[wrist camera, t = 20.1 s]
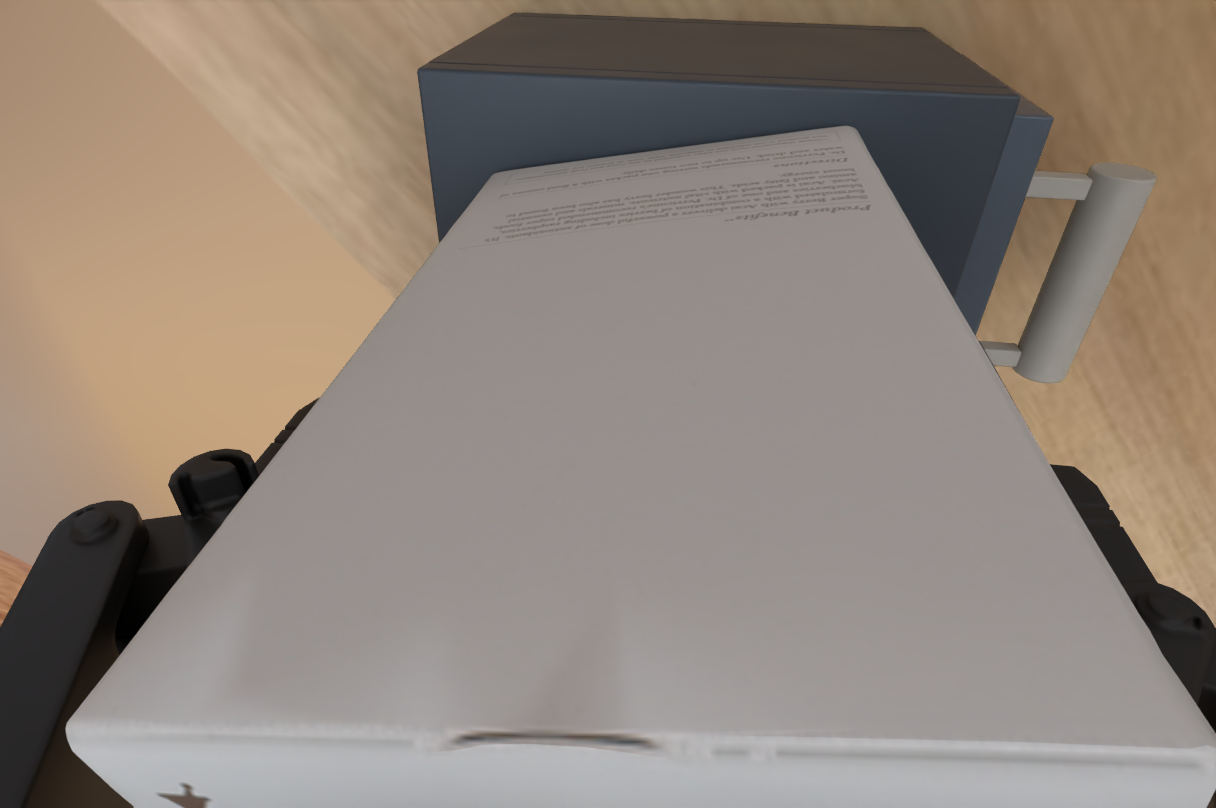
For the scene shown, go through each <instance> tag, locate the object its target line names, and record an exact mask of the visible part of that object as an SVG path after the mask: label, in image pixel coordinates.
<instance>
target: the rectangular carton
mask: <svg viewBox="0 0 1216 808" xmlns="http://www.w3.org/2000/svg"><path fill="white" fill-rule="evenodd" d="M65 730H66V735H67V740H68V742H69V745H70V747H71V749H72V751H73V752H74V753H75V754H76V755H77V756H78V757H79V758H80V759H81V760H82V761H84V762H85V763H86V764H87V765H88V766H89V767H90V768H91V769H92V770H93V771H94V772H95V773H96V774H98V775H99V776H100V777H101V778H102V779H103V780H104V781H105V782H106V783H107V784H108V785H109V786H110V787H112V788H113V789H114V790H115V791H116V792H117V793H118V794H120V795H121V796H122V797H123V798H124V799H126V800H127V801H128V802H129V803H130V804H131V805H133V806H134V807H135V808H1207V806H1208V804H1209V802H1210V800H1211V798H1212V796H1213V794H1214V792H1215V790H1216V734H1215V732H1214V730H1213V729H1212V727H1211V726H1210V724H1209V723H1208V721H1207V720H1206V718H1205V717H1204V715H1203V714H1202V712H1201V711H1200V709H1199V708H1198V706H1197V705H1196V703H1195V702H1194V700H1193V699H1192V697H1191V695H1190V694H1189V692H1188V691H1187V689H1186V688H1185V686H1184V685H1183V684H1182V682H1181V681H1180V679H1179V678H1178V676H1177V675H1176V673H1175V672H1174V671H1173V669H1172V668H1171V666H1170V665H1169V663H1168V662H1167V661H1166V659H1165V658H1164V656H1163V654H1162V653H1161V651H1160V649H1159V647H1158V645H1157V643H1156V641H1155V639H1154V638H1153V636H1152V634H1151V632H1150V630H1149V629H1148V627H1147V626H1146V624H1145V623H1144V621H1143V620H1142V618H1141V617H1140V615H1139V613H1138V612H1137V610H1136V608H1135V607H1134V605H1133V603H1132V602H1131V600H1130V598H1129V596H1128V595H1127V593H1126V591H1125V590H1124V588H1123V586H1122V585H1121V583H1120V581H1119V580H1118V578H1117V576H1116V575H1115V573H1114V572H1113V570H1112V568H1111V567H1110V565H1109V563H1108V562H1107V560H1106V558H1105V557H1104V555H1103V553H1102V552H1101V550H1100V548H1099V547H1098V545H1097V543H1096V542H1095V540H1094V538H1093V537H1092V535H1091V533H1090V532H1089V530H1088V528H1087V527H1086V525H1085V523H1084V522H1083V520H1082V518H1081V517H1080V515H1079V513H1078V512H1077V510H1076V508H1075V506H1074V505H1073V503H1072V501H1071V500H1070V498H1069V496H1068V495H1067V493H1066V491H1065V490H1064V488H1063V486H1062V485H1061V483H1060V481H1059V480H1058V478H1057V476H1056V474H1055V473H1054V471H1053V469H1052V468H1051V466H1050V464H1049V462H1048V461H1047V459H1046V457H1045V455H1044V454H1043V452H1042V450H1041V448H1040V447H1039V445H1038V443H1037V442H1036V440H1035V438H1034V436H1033V435H1032V433H1031V431H1030V429H1029V428H1028V426H1027V424H1026V422H1025V421H1024V419H1023V417H1022V416H1021V414H1020V412H1019V410H1018V409H1017V407H1016V405H1015V404H1014V402H1013V400H1012V398H1011V397H1010V395H1009V393H1008V391H1007V390H1006V388H1005V386H1004V384H1003V383H1002V381H1001V379H1000V377H999V376H998V374H997V372H996V371H995V369H994V367H993V365H992V364H991V362H990V360H989V359H988V357H987V355H986V353H985V352H984V350H983V348H982V347H981V345H980V343H979V342H978V340H977V338H976V336H975V335H974V333H973V331H972V330H971V328H970V326H969V325H968V323H967V321H966V320H965V318H964V316H963V314H962V313H961V311H960V309H959V308H958V306H957V304H956V303H955V301H954V299H953V297H952V296H951V294H950V292H949V290H948V288H947V287H946V285H945V283H944V282H943V280H942V278H941V276H940V275H939V273H938V271H937V269H936V268H935V266H934V264H933V263H932V261H931V259H930V258H929V256H928V254H927V253H926V251H925V249H924V248H923V246H922V244H921V242H920V240H919V239H918V237H917V235H916V233H915V232H914V230H913V228H912V226H911V224H910V223H909V221H908V219H907V217H906V216H905V214H904V212H903V211H902V209H901V207H900V205H899V204H898V202H897V200H896V198H895V197H894V195H893V193H892V191H891V190H890V188H889V187H888V185H887V183H886V181H885V180H884V178H883V176H882V174H881V172H880V170H879V169H878V167H877V166H876V164H875V162H874V161H873V159H872V157H871V155H870V153H869V152H868V150H867V148H866V146H865V144H864V142H863V140H862V138H861V136H860V135H859V133H858V131H857V130H856V129H855V128H854V127H850V126H838V127H830V128H822V129H813V130H806V131H798V132H791V133H784V134H776V135H768V136H761V137H753V138H746V139H738V140H731V141H723V142H716V143H708V144H701V145H693V146H686V147H678V148H671V149H663V150H656V151H648V152H641V153H633V154H626V155H618V156H611V157H603V158H596V159H588V160H581V161H574V162H566V163H559V164H551V165H544V166H537V167H529V168H523V169H516V170H509V171H503V172H498V173H495V174H493V175H492V176H491V177H490V179H489V180H488V181H487V182H486V184H485V185H484V186H483V188H482V189H481V190H480V192H479V193H478V194H477V196H476V197H475V198H474V200H473V201H472V202H471V203H470V205H469V206H468V207H467V209H466V210H465V211H464V212H463V214H462V215H461V216H460V217H459V219H458V220H457V221H456V222H455V223H454V225H453V226H452V227H451V229H450V230H449V231H448V233H447V234H446V235H445V237H444V238H443V239H442V241H441V242H440V243H439V244H438V246H437V247H436V248H435V249H434V251H433V252H432V253H431V255H430V256H429V257H428V259H427V260H426V261H425V263H424V264H423V265H422V267H421V268H420V269H419V270H418V271H417V273H416V274H415V275H414V276H413V278H412V279H411V280H410V282H409V283H408V284H407V286H406V287H405V288H404V290H403V291H402V292H401V294H400V295H399V296H398V297H397V298H396V300H395V301H394V302H393V304H392V305H391V307H390V308H389V309H388V310H387V312H386V313H385V314H384V315H383V317H382V318H381V319H380V321H379V322H378V323H377V324H376V326H375V327H374V328H373V330H372V331H371V333H370V334H369V335H368V336H367V338H366V339H365V340H364V342H363V343H362V344H361V346H360V347H359V348H358V349H357V351H356V352H355V353H354V355H353V356H352V357H351V359H350V360H349V361H348V362H347V364H346V365H345V366H344V367H343V369H342V370H341V371H340V373H339V374H338V375H337V376H336V378H335V379H334V380H333V382H332V383H331V384H330V385H329V387H328V388H327V389H326V391H325V392H324V393H323V394H322V396H321V397H320V398H319V400H318V401H317V402H316V403H315V405H314V406H313V407H312V409H311V410H310V411H309V413H308V414H307V415H306V416H305V418H304V419H303V420H302V422H301V423H300V424H299V425H298V427H297V428H296V429H295V431H294V432H293V433H292V434H291V436H290V437H289V438H288V440H287V441H286V442H285V443H284V445H283V446H282V447H281V449H280V450H279V451H278V453H277V454H276V455H275V456H274V458H273V459H272V460H271V462H270V463H269V464H268V465H267V467H266V468H265V469H264V471H263V472H262V473H261V474H260V476H259V477H258V478H257V480H256V481H255V482H254V483H253V485H252V486H251V487H250V488H249V490H248V491H247V492H246V494H245V495H244V496H243V497H242V499H241V500H240V501H239V502H238V504H237V505H236V506H235V507H234V509H233V510H232V511H231V513H230V514H229V515H228V516H227V518H226V519H225V521H224V522H223V523H222V525H221V526H220V528H219V529H218V530H217V531H216V533H215V534H214V535H213V536H212V538H211V539H210V540H209V541H208V543H207V544H206V545H205V546H204V548H203V549H202V550H201V552H200V553H199V554H198V555H197V557H196V558H195V559H194V560H193V562H192V563H191V564H190V565H189V567H188V568H187V569H186V571H185V572H184V573H183V574H182V576H181V577H180V578H179V579H178V581H177V582H176V583H175V584H174V586H173V587H172V588H171V590H170V591H169V592H168V593H167V595H166V596H165V597H164V598H163V600H162V601H161V602H160V604H159V605H158V606H157V608H156V609H155V610H154V612H153V613H152V614H151V615H150V617H149V618H148V619H147V621H146V622H145V623H144V625H143V626H142V627H141V628H140V630H139V631H138V632H137V634H136V635H135V636H134V638H133V639H132V640H131V641H130V643H129V644H128V645H127V647H126V648H125V649H124V651H123V652H122V653H121V655H120V656H119V657H118V658H117V660H116V661H115V662H114V664H113V665H112V666H111V667H110V669H109V670H108V671H107V672H106V674H105V675H104V676H103V678H102V679H101V680H100V681H99V683H98V684H97V685H96V686H95V688H94V689H93V690H92V691H91V693H90V694H89V695H88V697H87V698H86V699H85V700H84V702H83V703H82V704H81V705H80V707H79V708H78V709H77V710H76V712H75V713H74V714H73V716H72V717H71V718H70V719H69V721H68V722H67V724H66V729H65Z"/></svg>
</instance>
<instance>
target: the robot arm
mask: <svg viewBox="0 0 1216 808" xmlns="http://www.w3.org/2000/svg"><path fill="white" fill-rule="evenodd" d="M978 342H979V343H980V341H978ZM980 345H981V347H982V348H983V346H982V344H981V343H980ZM983 350H984V348H983ZM984 352H985V353H986V351H985V350H984ZM986 355H987V353H986ZM987 357H988V355H987ZM988 359H989V357H988ZM989 360H990V359H989ZM990 362H991V360H990ZM991 364H992V362H991ZM992 365H993V364H992ZM993 367H994V366H993ZM994 369H995V367H994ZM995 371H996V369H995ZM996 372H997V371H996ZM997 374H998V373H997ZM998 376H999V375H998ZM999 377H1000V376H999ZM1000 379H1001V378H1000ZM1001 381H1002V380H1001ZM1002 383H1003V382H1002ZM1003 384H1004V383H1003ZM1004 386H1005V385H1004ZM1005 388H1006V387H1005ZM1006 390H1007V389H1006ZM1008 393H1009V392H1008ZM1009 395H1010V394H1009ZM1010 397H1011V396H1010ZM318 400H319V398H318V399H316V400H315V401H313V402H311V403H310V404H308V405H306V406H305V407H303V408H302V409H300V410H299V411H298V412H297V413H296V414H295V415H294V416H293V418H292V419H291V420H290V421H289V423H288V424H287V425H286V426H285V430H282V431H281V432H280V433H279V435H278V436H277V437H276V438H275V442H274V443H271V444H270V446H269V447H268V448H267V449H266V451H265V452H264V453H263V454H262V455H261V457H260V458H259V459H258V460H257V461H256V463H254V461H253V459H252V458H251V456H250V455H249V454H247V453H245V452H243V451H241V450H233V449H221V450H214V451H209V452H206V453H204V454H201V455H198V456H195V457H193V458H191V459H190V460H188V461H187V462H185V463H184V464H182V465H180V466H179V467H178V468H177V470H176V471H175V472H174V473H173V474H172V475H171V478H170V481H169V484H168V486H169V488H170V490H171V492H172V495H173V497H174V499H175V501H176V503H177V506H178V508H179V510H180V512H181V514H182V515H177V516H170V517H163V518H154V519H146V520H142V518H141V517H140V514H139V513H138V511H137V509H136V508H135V507H134V506H133V505H132V504H130V503H127V502H124V501H104V502H100V503H96V504H91V505H88V506H86V507H84V508H82V509H80V510H77V511H75V512H73V513H72V514H70V515H69V516H67V517H66V518H65V519H63V520H62V521H60V522H59V523H58V525H57V526H56V527H55V528H54V530H53V531H52V532H51V533H50V535H49V537H48V539H47V541H46V543H45V545H44V546H43V548H42V550H41V552H40V554H39V556H38V558H37V559H36V561H35V563H34V565H33V567H32V569H31V571H30V573H29V574H28V576H27V578H26V580H25V582H24V584H23V586H22V588H21V589H20V591H19V593H18V595H17V597H16V599H15V601H14V603H13V605H12V606H11V608H10V610H9V612H8V614H7V616H6V618H5V620H4V621H3V623H2V625H1V627H0V808H134V806H133V805H131V804H130V803H129V802H128V801H127V800H126V799H124V798H123V797H122V796H121V795H120V794H118V793H117V792H116V791H115V790H114V789H113V788H112V787H110V786H109V785H108V784H107V783H106V782H105V781H104V780H103V779H102V778H101V777H100V776H99V775H98V774H96V773H95V772H94V771H93V770H92V769H91V768H90V767H89V766H88V765H87V764H86V763H85V762H84V761H82V760H81V759H80V758H79V757H78V756H77V755H76V754H75V753H74V752H73V751H72V749H71V747H70V745H69V742H68V740H67V735H66V730H65V729H66V724H67V722H68V721H69V719H70V718H71V717H72V716H73V714H74V713H75V712H76V710H77V709H78V708H79V707H80V705H81V704H82V703H83V702H84V700H85V699H86V698H87V697H88V695H89V694H90V693H91V691H92V690H93V689H94V688H95V686H96V685H97V684H98V683H99V681H100V680H101V679H102V678H103V676H104V675H105V674H106V672H107V671H108V670H109V669H110V667H111V666H112V665H113V664H114V662H115V661H116V660H117V658H118V657H119V656H120V655H121V653H122V652H123V651H124V649H125V648H126V647H127V645H128V644H129V643H130V641H131V640H132V639H133V638H134V636H135V635H136V634H137V632H138V631H139V630H140V628H141V627H142V626H143V625H144V623H145V622H146V621H147V619H148V618H149V617H150V615H151V614H152V613H153V612H154V610H155V609H156V608H157V606H158V605H159V604H160V602H161V601H162V600H163V598H164V597H165V596H166V595H167V593H168V592H169V591H170V590H171V588H172V587H173V586H174V584H175V583H176V582H177V581H178V579H179V578H180V577H181V576H182V574H183V573H184V572H185V571H186V569H187V568H188V567H189V565H190V564H191V563H192V562H193V560H194V559H195V558H196V557H197V555H198V554H199V553H200V552H201V550H202V549H203V548H204V546H205V545H206V544H207V543H208V541H209V540H210V539H211V538H212V536H213V535H214V534H215V533H216V531H217V530H218V529H219V528H220V526H221V525H222V523H223V522H224V521H225V519H226V518H227V516H228V515H229V514H230V513H231V511H232V510H233V509H234V507H235V506H236V505H237V504H238V502H239V501H240V500H241V499H242V497H243V496H244V495H245V494H246V492H247V491H248V490H249V488H250V487H251V486H252V485H253V483H254V482H255V481H256V480H257V478H258V477H259V476H260V474H261V473H262V472H263V471H264V469H265V468H266V467H267V465H268V464H269V463H270V462H271V460H272V459H273V458H274V456H275V455H276V454H277V453H278V451H279V450H280V449H281V447H282V446H283V445H284V443H285V442H286V441H287V440H288V438H289V437H290V436H291V434H292V433H293V432H294V431H295V429H296V428H297V427H298V425H299V424H300V423H301V422H302V420H303V419H304V418H305V416H306V415H307V414H308V413H309V411H310V410H311V409H312V407H313V406H314V405H315V403H316V402H317V401H318ZM1012 400H1013V399H1012ZM1013 402H1014V401H1013ZM1014 404H1015V403H1014ZM1017 409H1018V408H1017ZM1021 416H1022V415H1021ZM1050 466H1051V468H1052V469H1053V471H1054V473H1055V474H1056V476H1057V478H1058V480H1059V481H1060V483H1061V485H1062V486H1063V488H1064V490H1065V491H1066V493H1067V495H1068V496H1069V498H1070V500H1071V501H1072V503H1073V505H1074V506H1075V508H1076V510H1077V512H1078V513H1079V515H1080V517H1081V518H1082V520H1083V522H1084V523H1085V525H1086V527H1087V528H1088V530H1089V532H1090V533H1091V535H1092V537H1093V538H1094V540H1095V542H1096V543H1097V545H1098V547H1099V548H1100V550H1101V552H1102V553H1103V555H1104V557H1105V558H1106V560H1107V562H1108V563H1109V565H1110V567H1111V568H1112V570H1113V572H1114V573H1115V575H1116V576H1117V578H1118V580H1119V581H1120V583H1121V585H1122V586H1123V588H1124V590H1125V591H1126V593H1127V595H1128V596H1129V598H1130V600H1131V602H1132V603H1133V605H1134V607H1135V608H1136V610H1137V612H1138V613H1139V615H1140V617H1141V618H1142V620H1143V621H1144V623H1145V624H1146V626H1147V627H1148V629H1149V630H1150V632H1151V634H1152V636H1153V638H1154V639H1155V641H1156V643H1157V645H1158V647H1159V649H1160V651H1161V653H1162V654H1163V656H1164V658H1165V659H1166V661H1167V662H1168V663H1169V665H1170V666H1171V668H1172V669H1173V671H1174V672H1175V673H1176V675H1177V676H1178V678H1179V679H1180V681H1181V682H1182V684H1183V685H1184V686H1185V688H1186V689H1187V691H1188V692H1189V694H1190V695H1191V697H1192V699H1193V700H1194V702H1195V703H1196V705H1197V706H1198V708H1199V709H1200V711H1201V712H1202V714H1203V715H1204V717H1205V718H1206V720H1207V721H1208V723H1209V724H1210V726H1211V727H1212V729H1213V730H1214V732H1215V734H1216V628H1215V627H1214V625H1213V623H1212V622H1211V620H1210V619H1209V617H1208V615H1207V614H1206V612H1205V611H1204V610H1202V609H1201V608H1200V607H1199V606H1198V605H1197V604H1196V603H1195V602H1194V601H1192V600H1191V599H1190V598H1188V597H1186V596H1185V595H1183V594H1181V593H1180V592H1178V591H1176V590H1174V589H1173V588H1170V587H1167V586H1164V585H1162V584H1159V583H1157V581H1156V580H1155V578H1154V576H1153V575H1152V573H1151V572H1150V570H1149V568H1148V567H1147V565H1146V564H1145V562H1144V560H1143V559H1142V557H1141V556H1140V554H1139V552H1138V551H1137V549H1136V548H1135V546H1134V544H1133V543H1132V541H1131V540H1130V538H1129V536H1128V535H1127V533H1126V532H1125V530H1124V528H1123V527H1120V522H1119V520H1118V519H1117V517H1116V515H1115V514H1114V512H1113V511H1112V510H1109V507H1110V506H1109V504H1108V503H1107V501H1106V499H1105V498H1104V496H1103V495H1102V493H1101V491H1100V490H1099V488H1098V487H1097V485H1096V484H1094V483H1093V482H1092V481H1091V480H1090V479H1088V478H1087V477H1086V476H1085V475H1084V474H1082V473H1081V472H1080V471H1079V470H1078V469H1077V468H1075V467H1072V466H1062V465H1051V464H1050ZM1207 808H1216V790H1215V792H1214V794H1213V796H1212V798H1211V800H1210V802H1209V804H1208V806H1207Z"/></svg>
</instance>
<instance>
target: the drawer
mask: <svg viewBox="0 0 1216 808" xmlns="http://www.w3.org/2000/svg"><path fill="white" fill-rule="evenodd" d="M963 56H964V55H963ZM964 57H965V58H967V57H966V56H964ZM967 59H968V58H967ZM968 60H970V59H968ZM970 61H971V60H970ZM971 62H973V61H971ZM973 63H974V62H973ZM974 64H975V65H977V64H976V63H974ZM977 66H978V67H980V66H979V65H977ZM980 68H981V67H980ZM981 69H983V68H981ZM983 70H984V69H983ZM984 71H985V72H987V71H986V70H984ZM987 73H988V74H990V73H989V72H987ZM990 75H991V76H993V75H992V74H990ZM993 77H994V76H993ZM994 78H996V77H994ZM996 79H997V78H996ZM997 80H998V81H1000V80H999V79H997ZM1000 82H1001V83H1003V82H1002V81H1000ZM1003 84H1004V85H1006V84H1005V83H1003ZM1006 86H1007V85H1006ZM1007 87H1008V88H1009V89H1010V90H1012V91H1013V92H1015V93H1016V94H1017V95H1019V96H1020V102H1019V105H1018V108H1017V111H1016V114H1015V117H1014V120H1013V123H1012V126H1011V129H1010V132H1009V135H1008V138H1007V141H1006V144H1005V147H1004V150H1003V153H1002V156H1001V159H1000V162H999V165H998V168H997V171H996V174H995V177H994V180H993V183H992V186H991V189H990V193H989V196H988V199H987V202H986V205H985V208H984V211H983V214H982V217H981V220H980V223H979V226H978V229H977V232H976V235H975V238H974V241H973V244H972V247H971V250H970V253H969V256H968V259H967V262H966V265H965V268H964V271H963V274H962V277H961V280H960V283H959V286H958V289H957V292H956V295H955V298H954V301H955V303H956V304H957V306H958V308H959V309H960V311H961V313H962V314H963V316H964V318H965V320H966V321H967V323H968V325H969V326H970V328H971V330H972V331H973V333H974V335H976V333H977V330H978V327H979V324H980V322H981V319H982V316H983V313H984V311H985V308H986V305H987V302H988V299H989V297H990V294H991V291H992V288H993V286H994V283H995V280H996V277H997V275H998V272H999V269H1000V266H1001V263H1002V261H1003V258H1004V255H1005V252H1006V250H1007V247H1008V244H1009V241H1010V239H1011V236H1012V233H1013V230H1014V228H1015V225H1016V222H1017V219H1018V216H1019V214H1020V211H1021V208H1022V205H1023V203H1024V200H1025V197H1031V198H1048V199H1065V200H1076V203H1075V205H1074V208H1073V210H1072V213H1071V215H1070V218H1069V220H1068V223H1067V225H1066V228H1065V230H1064V232H1063V235H1062V237H1061V240H1060V242H1059V245H1058V247H1057V250H1056V252H1055V255H1054V257H1053V260H1052V262H1051V265H1050V267H1049V270H1048V272H1047V274H1046V277H1045V279H1044V282H1043V284H1042V287H1041V289H1040V292H1039V294H1038V297H1037V299H1036V302H1035V304H1034V307H1033V309H1032V312H1031V314H1030V316H1029V319H1028V321H1027V324H1026V326H1025V329H1024V331H1023V334H1022V336H1021V339H1020V341H1019V344H1018V346H1017V344H1015V343H1002V342H989V341H980V343H981V344H982V346H983V348H984V350H985V351H986V353H987V355H988V357H989V359H990V360H991V362H992V364H993V365H994V366H1007V367H1012V368H1013V370H1014V371H1015V372H1017V373H1018V374H1019V375H1021V376H1023V377H1025V378H1027V379H1030V380H1032V381H1036V382H1041V383H1058V382H1060V381H1062V380H1063V379H1064V378H1065V376H1066V374H1067V372H1068V370H1069V368H1070V365H1071V363H1072V361H1073V359H1074V357H1075V355H1076V353H1077V350H1078V348H1079V346H1080V344H1081V342H1082V340H1083V337H1084V335H1085V333H1086V331H1087V329H1088V327H1089V324H1090V322H1091V320H1092V318H1093V316H1094V314H1095V312H1096V309H1097V307H1098V305H1099V303H1100V301H1101V299H1102V296H1103V294H1104V292H1105V290H1106V288H1107V286H1108V283H1109V281H1110V279H1111V277H1112V275H1113V273H1114V270H1115V268H1116V266H1117V264H1118V262H1119V260H1120V258H1121V255H1122V253H1123V251H1124V249H1125V247H1126V245H1127V242H1128V240H1129V238H1130V236H1131V234H1132V232H1133V229H1134V227H1135V225H1136V223H1137V221H1138V219H1139V217H1140V214H1141V212H1142V210H1143V208H1144V206H1145V204H1146V201H1147V199H1148V197H1149V195H1150V193H1151V191H1152V188H1153V186H1154V184H1155V182H1156V180H1157V176H1156V175H1155V174H1154V173H1152V172H1151V171H1149V170H1146V169H1144V168H1140V167H1137V166H1133V165H1128V164H1121V163H1096V164H1093V165H1092V166H1091V167H1090V168H1089V171H1088V173H1087V175H1086V174H1083V173H1065V172H1047V171H1035V169H1036V167H1037V164H1038V161H1039V158H1040V156H1041V153H1042V150H1043V147H1044V144H1045V142H1046V139H1047V136H1048V133H1049V131H1050V128H1051V125H1052V122H1053V117H1052V116H1051V115H1049V114H1048V113H1046V112H1045V111H1044V110H1042V109H1041V108H1039V107H1038V106H1036V105H1035V104H1033V103H1032V102H1031V101H1029V100H1028V99H1026V98H1025V97H1023V96H1022V95H1020V94H1019V93H1018V92H1016V91H1015V90H1013V89H1012V88H1010V87H1009V86H1007Z"/></svg>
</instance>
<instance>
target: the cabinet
mask: <svg viewBox="0 0 1216 808" xmlns="http://www.w3.org/2000/svg"><path fill="white" fill-rule="evenodd" d="M417 73H418V81H419V89H420V97H421V104H422V112H423V120H424V128H425V136H426V143H427V151H428V159H429V167H430V175H431V182H432V190H433V198H434V206H435V213H436V221H437V229H438V237H439V243H440V242H441V241H442V239H443V238H444V237H445V235H446V234H447V233H448V231H449V230H450V229H451V227H452V226H453V225H454V223H455V222H456V221H457V220H458V219H459V217H460V216H461V215H462V214H463V212H464V211H465V210H466V209H467V207H468V206H469V205H470V203H471V202H472V201H473V200H474V198H475V197H476V196H477V194H478V193H479V192H480V190H481V189H482V188H483V186H484V185H485V184H486V182H487V181H488V180H489V179H490V177H491V176H492V175H493V174H495V173H498V172H503V171H509V170H516V169H523V168H529V167H537V166H544V165H551V164H559V163H566V162H574V161H581V160H588V159H596V158H603V157H611V156H618V155H626V154H633V153H641V152H648V151H656V150H663V149H671V148H678V147H686V146H693V145H701V144H708V143H716V142H723V141H731V140H738V139H746V138H753V137H761V136H768V135H776V134H784V133H791V132H798V131H806V130H813V129H822V128H830V127H838V126H850V127H854V128H855V129H856V130H857V131H858V133H859V135H860V136H861V138H862V140H863V142H864V144H865V146H866V148H867V150H868V152H869V153H870V155H871V157H872V159H873V161H874V162H875V164H876V166H877V167H878V169H879V170H880V172H881V174H882V176H883V178H884V180H885V181H886V183H887V185H888V187H889V188H890V190H891V191H892V193H893V195H894V197H895V198H896V200H897V202H898V204H899V205H900V207H901V209H902V211H903V212H904V214H905V216H906V217H907V219H908V221H909V223H910V224H911V226H912V228H913V230H914V232H915V233H916V235H917V237H918V239H919V240H920V242H921V244H922V246H923V248H924V249H925V251H926V253H927V254H928V256H929V258H930V259H931V261H932V263H933V264H934V266H935V268H936V269H937V271H938V273H939V275H940V276H941V278H942V280H943V282H944V283H945V285H946V287H947V288H948V290H949V292H950V294H951V296H952V297H953V299H954V298H955V295H956V292H957V289H958V286H959V283H960V280H961V277H962V274H963V271H964V268H965V265H966V262H967V259H968V256H969V253H970V250H971V247H972V244H973V241H974V238H975V235H976V232H977V229H978V226H979V223H980V220H981V217H982V214H983V211H984V208H985V205H986V202H987V199H988V196H989V193H990V189H991V186H992V183H993V180H994V177H995V174H996V171H997V168H998V165H999V162H1000V159H1001V156H1002V153H1003V150H1004V147H1005V144H1006V141H1007V138H1008V135H1009V132H1010V129H1011V126H1012V123H1013V120H1014V117H1015V114H1016V111H1017V108H1018V105H1019V102H1020V96H1019V95H1017V94H1016V93H1015V92H1013V91H1012V90H1010V89H1009V88H1008V87H1007V86H1006V85H1004V84H1003V83H1001V82H1000V81H998V80H997V79H996V78H994V77H993V76H991V75H990V74H988V73H987V72H985V71H984V70H983V69H981V68H980V67H978V66H977V65H975V64H974V63H973V62H971V61H970V60H968V59H967V58H965V57H964V56H963V55H961V54H960V53H958V52H957V51H955V50H954V49H952V48H951V47H950V46H948V45H947V44H945V43H944V42H942V41H941V40H940V39H938V38H937V37H935V36H934V35H932V34H931V33H929V32H928V31H926V30H925V29H923V28H914V27H887V26H860V25H833V24H806V23H779V22H752V21H725V20H698V19H671V18H644V17H617V16H590V15H563V14H536V13H513V14H511V15H510V16H508V17H506V18H504V19H502V20H501V21H499V22H497V23H495V24H494V25H492V26H490V27H489V28H487V29H485V30H483V31H482V32H480V33H478V34H476V35H475V36H473V37H471V38H470V39H468V40H466V41H464V42H463V43H461V44H459V45H457V46H456V47H454V48H452V49H451V50H449V51H447V52H445V53H444V54H442V55H440V56H438V57H437V58H435V59H433V60H432V61H430V62H429V63H428V64H426V65H424V66H422V67H420V68H419V69H418V71H417Z"/></svg>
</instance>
